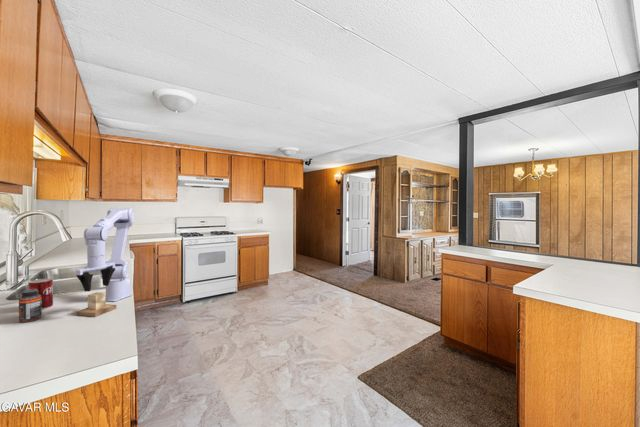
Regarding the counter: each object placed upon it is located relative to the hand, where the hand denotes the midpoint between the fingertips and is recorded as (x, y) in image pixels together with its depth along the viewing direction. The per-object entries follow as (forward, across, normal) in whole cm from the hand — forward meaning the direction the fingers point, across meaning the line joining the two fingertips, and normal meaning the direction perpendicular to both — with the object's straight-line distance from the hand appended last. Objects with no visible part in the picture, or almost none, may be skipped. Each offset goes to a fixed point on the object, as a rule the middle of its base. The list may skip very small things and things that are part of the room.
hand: (96, 288), depth 110 cm
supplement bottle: (+10, +11, -18) cm, 23 cm away
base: (+10, 0, 0) cm, 10 cm away
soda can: (+10, +1, -28) cm, 29 cm away
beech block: (+8, 0, 0) cm, 8 cm away
